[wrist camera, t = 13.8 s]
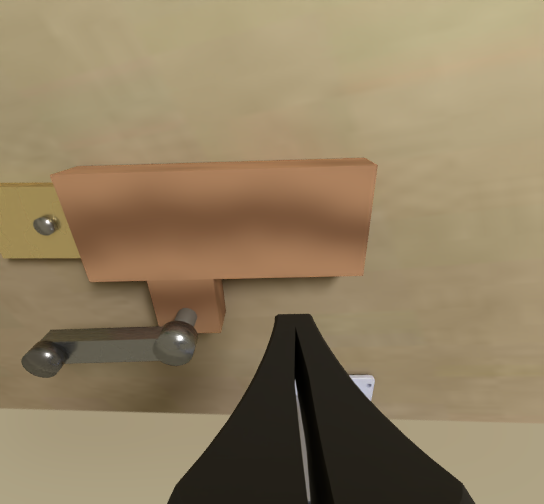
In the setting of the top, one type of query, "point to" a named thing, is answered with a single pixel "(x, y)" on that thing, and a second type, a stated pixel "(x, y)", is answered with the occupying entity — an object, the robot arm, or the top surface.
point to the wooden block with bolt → (33, 223)
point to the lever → (111, 346)
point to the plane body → (217, 226)
